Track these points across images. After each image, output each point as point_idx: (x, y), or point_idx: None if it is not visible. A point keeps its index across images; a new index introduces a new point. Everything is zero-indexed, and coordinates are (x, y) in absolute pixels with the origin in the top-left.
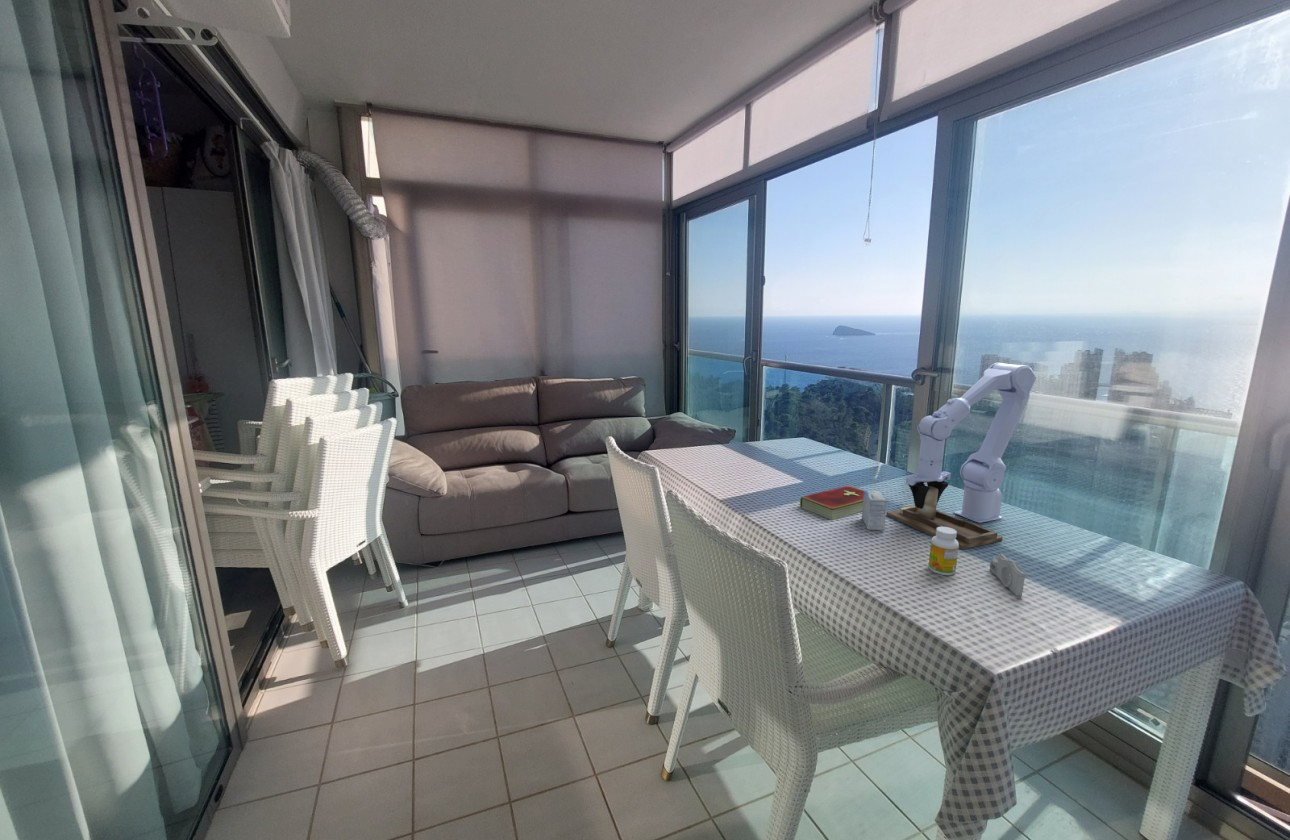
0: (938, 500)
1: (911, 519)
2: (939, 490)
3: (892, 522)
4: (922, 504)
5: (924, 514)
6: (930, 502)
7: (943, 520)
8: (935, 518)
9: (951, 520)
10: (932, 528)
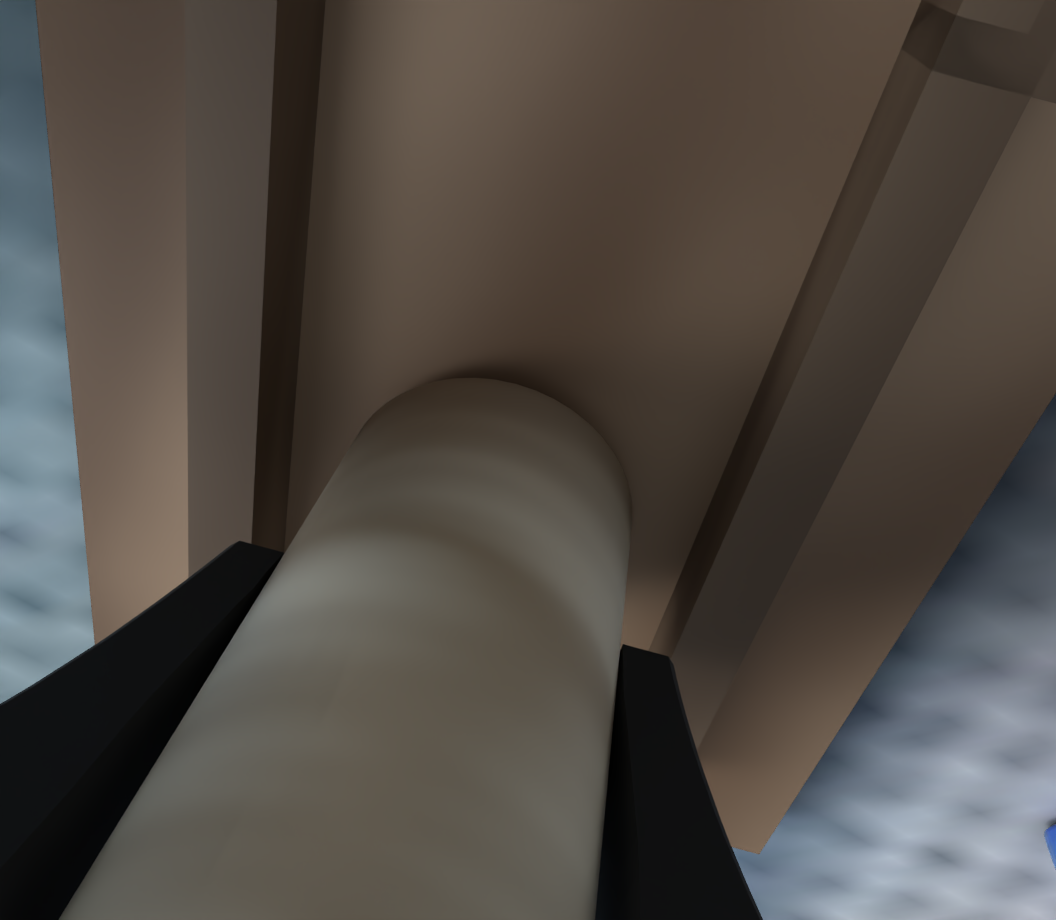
0: (152, 610)
1: (790, 585)
2: (11, 874)
3: (983, 697)
4: (679, 726)
5: (622, 529)
6: (543, 671)
7: (355, 245)
8: (397, 376)
9: (302, 103)
10: (1004, 169)
